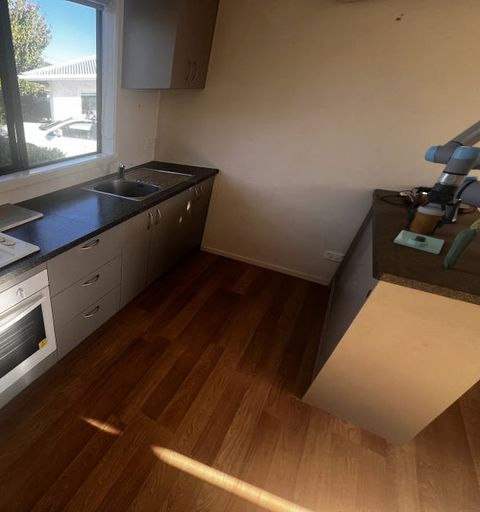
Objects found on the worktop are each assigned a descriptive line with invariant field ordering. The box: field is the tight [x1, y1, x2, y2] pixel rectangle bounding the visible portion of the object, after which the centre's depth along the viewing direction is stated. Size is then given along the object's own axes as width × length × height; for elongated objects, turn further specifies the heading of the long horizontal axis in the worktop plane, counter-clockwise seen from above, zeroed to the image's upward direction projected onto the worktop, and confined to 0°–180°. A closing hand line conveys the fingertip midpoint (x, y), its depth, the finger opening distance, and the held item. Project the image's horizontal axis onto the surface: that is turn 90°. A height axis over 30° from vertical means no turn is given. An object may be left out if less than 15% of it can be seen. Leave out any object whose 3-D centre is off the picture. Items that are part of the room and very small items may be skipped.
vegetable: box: [443, 217, 480, 269], centre depth 105 cm, size 4×4×20 cm
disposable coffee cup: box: [409, 204, 445, 235], centre depth 137 cm, size 10×10×12 cm
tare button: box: [415, 236, 426, 242], centre depth 124 cm, size 3×3×2 cm
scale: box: [393, 229, 445, 255], centre depth 128 cm, size 18×14×3 cm
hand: (419, 230), depth 139 cm, fingers closed on disposable coffee cup, 8 cm apart
